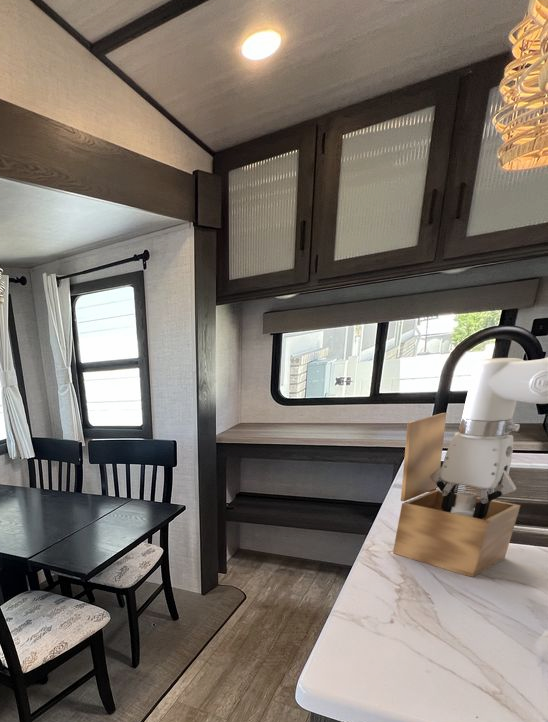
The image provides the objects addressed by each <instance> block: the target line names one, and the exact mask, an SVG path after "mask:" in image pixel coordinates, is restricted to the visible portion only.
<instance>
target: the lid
mask: <svg viewBox="0 0 548 722" xmlns="http://www.w3.org/2000/svg"><path fill="white" fill-rule="evenodd" d="M446 422H447V412H441V413H438V414H434V415H430V416H427V417H423V418H420V419H415V420H411V421H408V422H407V428H406V438H405V447H404V448H405V450H404V458H403V459H404V460H403V469H402V470H403V471H402V482H401V494H400V502H407V501H409V500H412V499H414V498H417V497H419V496H421V495H424V494H426V493H429V492H431V491H434V490H437V489H439V488H438V486H437V484H436V483H435V482H434V481H433V480H432V479H431V478H430V475H431V474H432V473H434V472H435V471H436V470H438V469H439V468H440V467H441V466H442V457H443V448H444V440H445V431H446Z"/></svg>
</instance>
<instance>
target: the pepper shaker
mask: <svg viewBox="0 0 548 722" xmlns="http://www.w3.org/2000/svg"><path fill="white" fill-rule="evenodd" d="M477 497H478V494H477V493H476V492H471V491H459V492H457V498H456V505H455V506H453V507H451V511H450V513H455V514H460V515H464V516H469V517H473V514H474V510H475V509H474V508H473V507H474V504H475V502H476V498H477Z"/></svg>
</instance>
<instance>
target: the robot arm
mask: <svg viewBox="0 0 548 722" xmlns="http://www.w3.org/2000/svg"><path fill="white" fill-rule="evenodd" d="M517 402H522V403H527V404H536V405H537V404H539V405H546V404H548V356H546V357H544V358H540V359H531V360H524V359H522V358H518V357H495V358H486V359H482V360H480V361H477V363H476V364H475V366H474V367H473V369H472V372H471V377H470V382H469V386H468V390H467V395H466V398H465V403H464V407H463V412H462V415H461V416H462V417H461V421H460V425H459V429H458V431H457V432H455V433H454V435H453V437H452V438H451V441H450V443H449V445H448V447H447V451H446V453H445V456H444V459H443V462H442V464H441V466H440V468H439V469H438V470H436V471H435V472H434V473H432V474H431V475H430V478H431V479H432V480H433V481H434V482H435V483H436V484H437V486H438V488H437V489H438V490H441V492H442V495H443V496H444V497H443V501H442V505H441V509H443V510H442V511H446V512H450V511H451V507H453V506H454V504H455V500H456V496H457V495H456V494H455V493H456V490H457V488H458V487H459V486H464V487H465V486H466V487H471V488H477V489H479V498H480V502H478V503H476V507H475V510H474V514H473V517H474V518H478V519H483V518H484V517H486V515H487V512H488V508H489V505H490V501H492V500H496V499H498V498H500V497H502V496H505V495H508V494H510V493H514V492H515V491H516V490H517V486H516V485H515V483H514V481H513V480H512V478H511V476H510V475H509V474H510V469H511V465H512V460H513V459H512V458H513V451H514V435H512V434H510V433H511V432H519V430H520V427H521V425H520V423H516V422H514V418H513V417H514V413H515V409H516V406H517ZM501 485H502V488H500V489H498V490H495V488H497V487H498V486H501Z"/></svg>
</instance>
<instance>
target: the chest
mask: <svg viewBox="0 0 548 722" xmlns="http://www.w3.org/2000/svg"><path fill="white" fill-rule="evenodd" d="M455 494H456V495H457V494H458V492H455ZM443 497H444V496H443V495H442V492H441V490H440V489H434V490H431V491H429V492H426V493H424V494H421V495H419V496H416V497H414V498H411V499H409V500H407V501H403V502H402V503H401V507H400V512H399V519H398V523H397V528H396V533H395V539H394V544H393V550H392V554H395V555H398V556H401V557H404V558H408V559H411V560H414V561H417V562H421V563H424V564H428V565H430V566H434V567H437V568H440V569H443V570H448V571H451V572H454V573H456V574H460V575H464V576H466V577H470V578H475V577H476V576H477V575H479V574H481V573H482V572H484V571H486V570H488V569H489V568H491V567H492V566H494V565H495V564H497V563H499V562H500V561H502V560H504V559H505V558H506V556H507V552H508V549H509V546H510V542H511V539H512V536H513V533H514V529H515V525H516V522H517V519H518V515H519V512H520V509H521V504H516V503H511V502H506V501H501V500H500V501H499V500H496V499H494V500H492V501H490V505H489V508H488V512H487V515H486V517H484V518H483V519H478V518H474V517H469V516H464V515H460V514H455V513H450V512H446V511H442V510H443V509H441V505H442V501H443ZM456 498H457V496H456ZM478 502H480V496H479V497H478V496H477V498H476V502H475V504H474V507H473V508H474V509H475V507H476V503H478ZM455 505H456V500H455V504H454V506H455Z"/></svg>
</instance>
